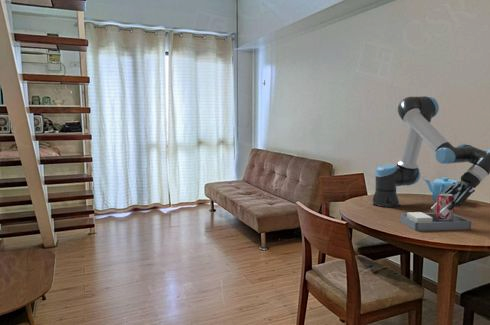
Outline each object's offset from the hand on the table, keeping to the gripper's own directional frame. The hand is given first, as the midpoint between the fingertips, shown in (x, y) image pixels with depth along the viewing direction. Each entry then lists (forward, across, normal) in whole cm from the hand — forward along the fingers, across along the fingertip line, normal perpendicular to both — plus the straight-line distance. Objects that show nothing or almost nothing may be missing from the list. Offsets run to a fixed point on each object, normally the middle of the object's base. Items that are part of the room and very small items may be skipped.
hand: (437, 212), depth 166 cm
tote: (+6, 0, -4) cm, 7 cm away
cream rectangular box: (+10, 0, +2) cm, 10 cm away
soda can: (0, 0, -5) cm, 5 cm away
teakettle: (-17, +49, -28) cm, 59 cm away
